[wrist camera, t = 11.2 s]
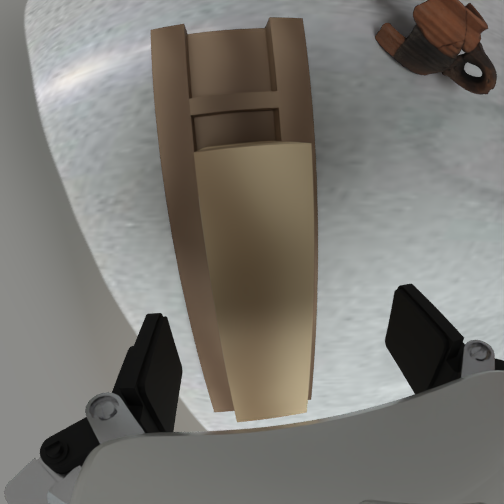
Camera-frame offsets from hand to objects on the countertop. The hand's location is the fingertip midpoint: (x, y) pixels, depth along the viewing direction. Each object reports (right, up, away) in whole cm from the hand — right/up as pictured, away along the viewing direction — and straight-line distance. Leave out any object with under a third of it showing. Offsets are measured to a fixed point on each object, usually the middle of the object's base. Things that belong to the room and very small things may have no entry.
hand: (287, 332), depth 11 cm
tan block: (-2, +4, +9) cm, 10 cm away
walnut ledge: (-2, +4, +11) cm, 11 cm away
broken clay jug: (+13, +22, +5) cm, 26 cm away
